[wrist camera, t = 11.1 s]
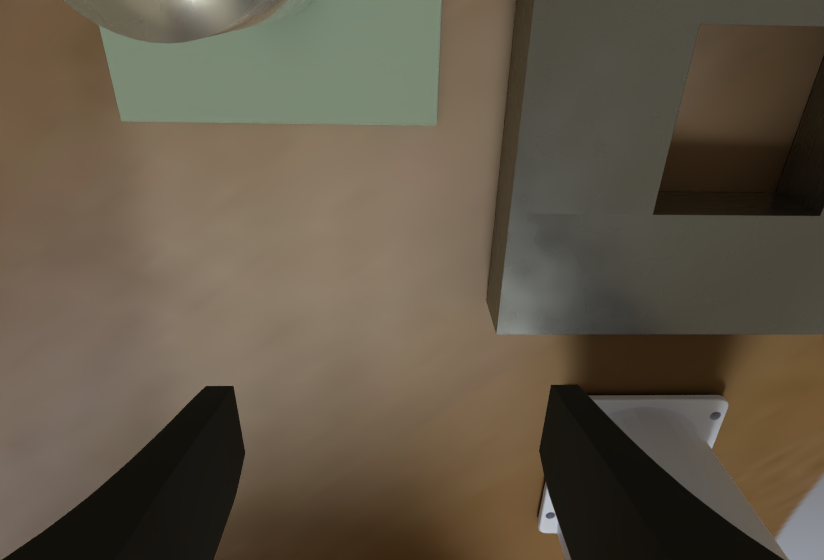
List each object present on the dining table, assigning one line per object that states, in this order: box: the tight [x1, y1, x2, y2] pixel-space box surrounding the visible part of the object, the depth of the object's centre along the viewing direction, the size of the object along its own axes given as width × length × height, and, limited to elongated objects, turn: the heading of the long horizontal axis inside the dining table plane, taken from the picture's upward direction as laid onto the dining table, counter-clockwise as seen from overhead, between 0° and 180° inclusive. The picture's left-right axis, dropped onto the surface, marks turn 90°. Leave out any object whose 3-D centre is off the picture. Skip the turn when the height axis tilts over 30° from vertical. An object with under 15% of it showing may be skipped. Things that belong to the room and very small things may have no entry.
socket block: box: [487, 0, 824, 334], centre depth 18 cm, size 16×16×2 cm
